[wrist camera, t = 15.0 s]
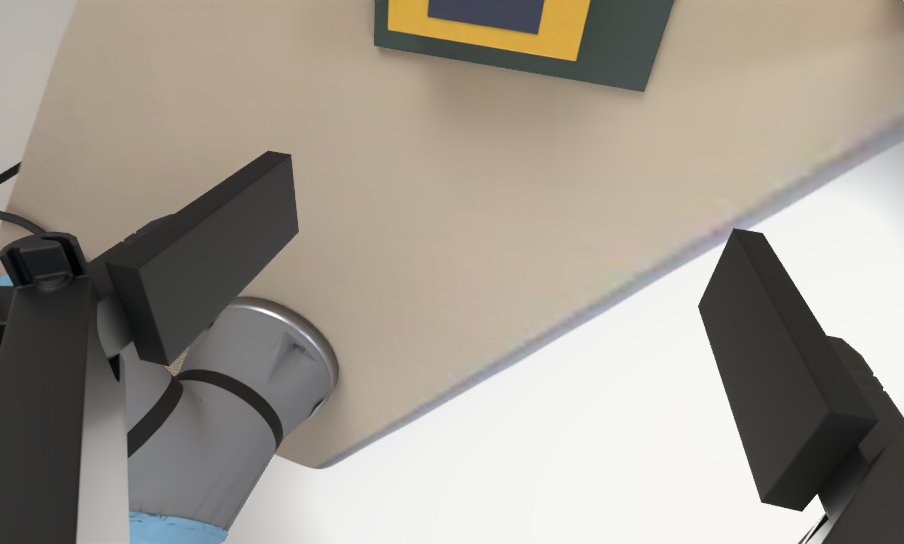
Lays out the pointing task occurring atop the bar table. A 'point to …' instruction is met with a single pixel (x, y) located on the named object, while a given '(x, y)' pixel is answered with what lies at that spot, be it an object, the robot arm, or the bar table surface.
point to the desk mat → (598, 60)
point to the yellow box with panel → (497, 23)
